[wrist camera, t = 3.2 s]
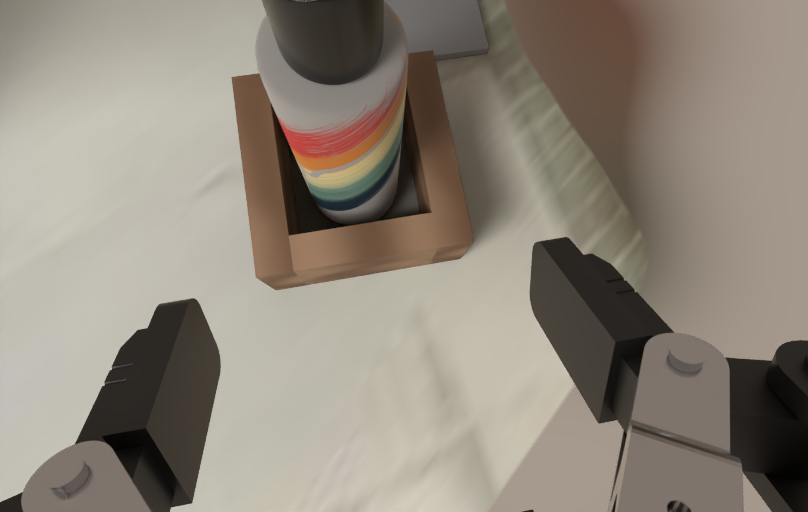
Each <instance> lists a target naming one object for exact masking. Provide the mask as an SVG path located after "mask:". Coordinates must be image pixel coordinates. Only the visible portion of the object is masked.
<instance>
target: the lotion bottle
mask: <svg viewBox="0 0 808 512" xmlns="http://www.w3.org/2000/svg"><path fill="white" fill-rule="evenodd" d="M262 2H263V5H264V8H265V11H266V16H265V18H264V19H263V21H262V23H261V25H260V28H259V31H258V34H257V39H256V61H257V66H258V70H259V73H260V76H261V79H262V82H263V84H264V87H265V89H266V92H267V94H268V96H269V99H270V101H271V103H272V106H273V108H274V110H275V113H276V115H277V117H278V119H279V122H280V124H281V126H282V129H283V131H284V133H285V136H286V138H287V140H288V142H289V145H290V147H291V149H292V152H293V154H294V156H295V159H296V161H297V163H298V165H299V168H300V170H301V172H302V175H303V177H304V179H305V181H306V184H307V186H308V188H309V191H310V193H311V195H312V197H313V199H314V201H315V203H316V205H317V206H318V208H319V209H320V210H321V211H322V213H323V214H324V215H326V216H327V217H328V218H329V219H331V220H333V221H335V222H337V223H339V224H342V225H346V226H352V225H358V224H364V223H370V222H374V221H376V220H377V219H379V218H380V217H381V216H383V215H384V214H385V213H386V212H387V211H388V209H389V208H390V206H391V205H392V203H393V201H394V198H395V195H396V191H397V184H398V175H399V164H400V152H401V141H402V130H403V119H404V108H405V96H406V85H407V72H408V43H407V38H406V34H405V30H404V28H403V25H402V23H401V21H400V19H399V17H398V16H397V14H396V13H395V12H394V10H393V9H392V8H391V7H390V6H389V5H388V4H387V3H386V2H385V1H384V0H262Z"/></svg>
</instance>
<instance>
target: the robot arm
mask: <svg viewBox="0 0 808 512" xmlns="http://www.w3.org/2000/svg"><path fill="white" fill-rule="evenodd" d="M530 301H531V306H532V310H533V313H534V315H535V317H536V319H537V321H538V322H539V324H540V326H541V327H542V329H543V331H544V332H545V334H546V336H547V338H548V339H549V341H550V343H551V344H552V346H553V348H554V349H555V351H556V353H557V354H558V356H559V358H560V359H561V361H562V363H563V365H564V366H565V368H566V370H567V371H568V373H569V375H570V376H571V378H572V380H573V381H574V383H575V385H576V386H577V388H578V390H579V391H580V393H581V395H582V397H583V398H584V400H585V401H586V403H587V405H588V407H589V408H590V410H591V412H592V413H593V415H594V417H595V418H596V420H597V422H598V423H603V422H609V421H614V420H618V422H619V423H620V425H621V426H622V428H623V434H622V438H621V443H620V448H619V453H618V459H617V464H616V469H615V474H614V479H613V484H612V490H611V495H610V500H609V505H608V511H607V512H744V510H743V509H744V508H743V473H744V474H745V476H746V477H747V478H748V480H749V481H750V482H751V484H752V485H753V486H754V488H755V489H756V490H757V492H758V493H759V494H760V496H761V497H762V499H763V500H764V501H765V503H766V504H767V506H768V507H769V508H770V510H771V511H772V512H808V341H802V340H799V341H791V342H787V343H784V344H782V345H781V346H780V347H779V348H778V349H777V351H776V353H775V355H774V357H773V359H772V361H766V360H751V359H736V358H725V357H724V356H723V354H721V352H720V351H719V350H717V349H716V348H715V347H714V346H712V345H711V344H709V343H707V342H706V341H704V340H701V339H699V338H696V337H694V336H690V335H686V334H681V333H674V332H673V331H672V330H671V329H670V328H669V327H668V325H667V324H666V323H665V322H664V321H663V320H662V319H661V318H660V317H659V316H658V315H657V313H656V312H655V311H654V310H653V309H652V308H651V307H650V306H649V305H648V304H647V303H646V301H645V300H644V299H643V298H642V297H641V296H640V295H639V294H638V293H637V292H634V288H633V287H632V286H631V285H630V284H629V283H628V282H627V281H624V278H623V277H622V276H621V274H620V273H619V272H618V271H617V270H616V269H615V268H614V267H613V266H612V265H611V264H610V263H608V262H606V261H604V260H603V259H601V258H599V257H597V256H595V255H593V254H586V255H583V254H582V253H581V251H580V250H579V249H578V248H577V247H576V246H575V245H574V243H573V242H572V241H571V240H570V239H569V238H567V237H564V238H558V239H552V240H546V241H540V242H536V243H535V244H534V246H533V251H532V266H531V282H530ZM220 368H221V364H220V354H219V350H218V347H217V344H216V342H215V339H214V337H213V335H212V332H211V330H210V328H209V325H208V323H207V321H206V318H205V316H204V313H203V311H202V309H201V306H200V304H199V303H198V301H197V300H196V299H194V298H193V299H187V300H181V301H175V302H169V303H163V304H159V305H158V306H157V308H156V310H155V312H154V315H153V317H152V319H151V322H150V324H149V326H148V328H147V329H141V330H137V331H136V332H135V333H134V335H133V336H132V337H131V338H130V339H129V340H128V341H127V342H126V343H125V344H124V345H123V346H122V347H121V348H120V350H119V352H118V354H117V357H116V359H115V361H114V363H113V365H112V370H110V371H109V373H108V376H107V378H106V380H105V386H102V388H101V390H100V392H99V395H98V397H97V399H96V401H95V403H94V405H93V407H92V409H91V412H90V414H89V416H88V418H87V420H86V422H85V424H84V426H83V428H82V431H81V433H80V435H79V437H78V439H77V441H76V443H75V445H72V446H70V447H68V448H66V449H64V450H62V451H60V452H58V453H57V454H55V455H54V456H53V457H51V458H50V459H49V460H47V461H46V462H45V463H44V464H43V465H42V466H41V467H40V468H39V469H38V470H37V471H36V472H35V473H34V474H33V475H32V477H31V478H30V480H29V481H28V483H27V484H26V486H25V488H24V491H23V492H22V493H20V494H18V495H16V496H13V497H11V498H9V499H7V500H4V501H2V502H0V512H170V509H171V507H175V506H180V505H185V504H190V503H192V501H193V497H194V492H195V487H196V483H197V478H198V473H199V469H200V464H201V459H202V455H203V450H204V445H205V441H206V436H207V432H208V427H209V422H210V418H211V413H212V408H213V404H214V399H215V394H216V390H217V385H218V380H219V376H220ZM742 472H743V473H742ZM524 512H534V511H533V510H528V511H524Z"/></svg>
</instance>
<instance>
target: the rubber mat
mask: <svg viewBox="0 0 808 512" xmlns="http://www.w3.org/2000/svg"><path fill="white" fill-rule="evenodd" d="M384 1H385V2H386V3H387V4H388V5H389V6H390V7H391V8H392V9H393V10H394V12H395V13H396V14H397V16H398V17H399V19H400V21H401V23H402V25H403V28H404V30H405V34H406V38H407V43H408V53H415V52H422V51H430V50H433V52H434V57H435V60H442V59H450V58H457V57H464V56H472V55H479V54H486V53H487V52H488V49H489V47H488V42H487V38H486V34H485V30H484V26H483V22H482V18H481V13H480V9H479V5H478V1H477V0H384Z"/></svg>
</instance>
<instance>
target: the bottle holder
mask: <svg viewBox="0 0 808 512" xmlns="http://www.w3.org/2000/svg"><path fill="white" fill-rule="evenodd" d="M232 84H233V92H234V100H235V109H236V117H237V125H238V133H239V141H240V149H241V158H242V166H243V174H244V182H245V190H246V199H247V207H248V215H249V223H250V231H251V240H252V248H253V256H254V264H255V272H256V278H258V279H259V280H261V281H262V282H264V283H266V284H267V285H269V286H270V287H272V288H273V289H275V290H281V289H286V288H292V287H298V286H304V285H310V284H316V283H322V282H327V281H333V280H339V279H345V278H351V277H357V276H363V275H368V274H374V273H380V272H386V271H392V270H398V269H404V268H409V267H415V266H421V265H427V264H433V263H439V262H445V261H451V260H456V259H460V258H461V257H462V256H463V254H464V253H465V252H466V251H467V249H468V248H469V247H470V246H471V244H472V243H473V242H474V238H473V233H472V229H471V224H470V219H469V215H468V210H467V206H466V201H465V196H464V192H463V187H462V182H461V178H460V173H459V168H458V164H457V159H456V154H455V150H454V145H453V140H452V136H451V131H450V127H449V122H448V117H447V113H446V108H445V103H444V99H443V94H442V89H441V85H440V80H439V75H438V71H437V66H436V62H435V57H434V52H433V50H430V51H422V52H415V53H408V72H407V85H406V96H405V108H404V119H403V128H404V133H405V138H406V143H407V148H408V153H409V158H410V164H411V169H412V174H413V179H414V184H415V189H416V194H417V199H418V205H419V210H420V214H419V215H413V216H407V217H401V218H395V219H389V220H382V221H376V222H370V223H364V224H358V225H352V226H345V227H339V228H333V229H327V230H321V231H315V232H308V233H302V234H300V228H299V221H298V214H297V207H296V200H295V193H294V186H293V179H292V172H291V165H290V158H289V151H288V144H287V141H288V140H287V138H286V136H285V133H284V131H283V129H282V126H281V124H280V122H279V119H278V117H277V115H276V113H275V110H274V108H273V106H272V103H271V101H270V99H269V96H268V94H267V92H266V89H265V87H264V84H263V82H262V79H261V76H260V73H259V74H252V75H244V76H237V77H232Z"/></svg>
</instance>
